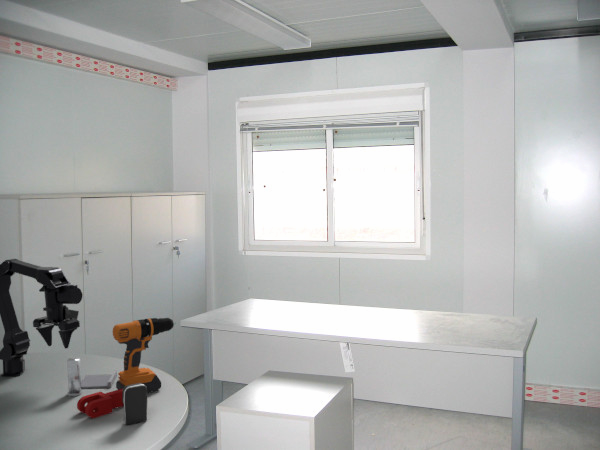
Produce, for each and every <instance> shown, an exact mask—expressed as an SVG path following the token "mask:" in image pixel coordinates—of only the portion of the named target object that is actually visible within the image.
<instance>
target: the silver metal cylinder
mask: <svg viewBox="0 0 600 450" xmlns="http://www.w3.org/2000/svg"><path fill="white" fill-rule="evenodd" d="M81 372H82V371H81V358H80V357H70V358H68V359H67V390H68V391H67V396H68V397H70V396H71V397H72V398H74V397H79V396H80V395H82V389H81V382H82V381H81V380H82V379H81V377H82V376H81ZM71 397H70V398H71Z"/></svg>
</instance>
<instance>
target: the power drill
mask: <svg viewBox="0 0 600 450" xmlns="http://www.w3.org/2000/svg"><path fill="white" fill-rule="evenodd" d="M173 320H174V319H172V318H170V317H163V318H162V317H160V318H157V317H153V318H151V317H150V318H144V319H136V320H132V321H129V322H124V323H119V324H115V325H114V326H113V327H112V336H113V339H114V340H116V342H117V343H118V344H120V345H122V344H124V345H126V349H125V352H124V357H123V370H122V371H119V372H117V376H118V380H117V381H116V382H115V388H116V390H119V389H123V388H124V387H125V386H127V385H131V384H136V383H142V384H143V385H145V386H146V388H147V394H150V393H154V392H158V391H159V390H160V389H161V388H162V381H161V380H160V378H159V376H158V375H157V374H156V372H154V371H153V370H152V369H150V368H149V367H147V368H146V367H142V368H141V367H140V364H141V361H142V360H141V358H142V352H143V351H145V350H146V349H149V348H150V347H149V342H151V341H152V340H153V336H156V335H159V334H161V333H164V332H170V331H171V330H172V329H173V328H174V325H175V324H176V321H173ZM149 392H150V393H149Z"/></svg>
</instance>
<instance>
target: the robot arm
mask: <svg viewBox="0 0 600 450" xmlns="http://www.w3.org/2000/svg"><path fill="white" fill-rule="evenodd" d="M16 274H19V275H23V276H26V277H29V278H33V279H34V280H36V282H37V283H38V284H40V285H42V286H41V288H40V289H39V290H38V291H39V292H41V293H42V292H44V301H45V306H44V307H43V308H42V309H43V311H44V312H45V313H46V316H42V317H38V318H34V320H33V321H32V327H33V328H35V330H37V332H38V334H39V335H40V336H41V337H42V338H43V340H44V342H45V343H46V344H47V346H48V347H51V346H52V344H53V333H52V331H53V328H54V327H58V329H59V330H58V333H59V336H60V339H61V342H62V345H63V348H64V349H69V346H70V342H71V339H72V335H73V333H74V332H75V331H76V330H78V328H80V327H81V326H80V325H81V324H80V320H78V317H79V314H80V313H79V310H75V309H69V307H67V305H78V304H80V303H81V301H82V299H83V292H82V290H81V288H80V287H78V284H77V283H76V284H75V283H72V284H71V282H70V280H69V279H68V278H67V276H66V275H65V273H64V272H63V270H62V268H61V267H57V266H40V265H38V264H33V263H29V262H26V261H22V260H19V259H18V258H9V259H5V260H4V261H2V262H1V263H0V320H1V322H2V323H1V324H2V326H3V330H4V335H3V338H2V345H3V347H2V348H1V349H0V360H1V361H2V374H0V375H1V377H9V376H13V377H15V376H22V374H23V373H24V372H25V371H26V360H25V359H24V355H27V354H28V351H29V348H30V346H31V345H30V344H31V343H30V342H31V339H30V337H29V332H28V331H27V330H23V329H21V327H20V325H19V321H18V317H17V313H16V310H15V307H14V303H13V299H12V297H11V292H10V288H11V285H12V279H11V278H12V276H14V275H16Z"/></svg>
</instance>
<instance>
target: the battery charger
mask: <svg viewBox="0 0 600 450" xmlns="http://www.w3.org/2000/svg"><path fill="white" fill-rule="evenodd" d="M122 403H123V404H124V406H123V424H124V425H126V426H129V425H134V424H138V423H143V422H145V421H147V420H148V393H147V388H146V386H145V385H143V384H142V383H136V384H131V385H127V386H125V387H124V388H123V391H122Z"/></svg>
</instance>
